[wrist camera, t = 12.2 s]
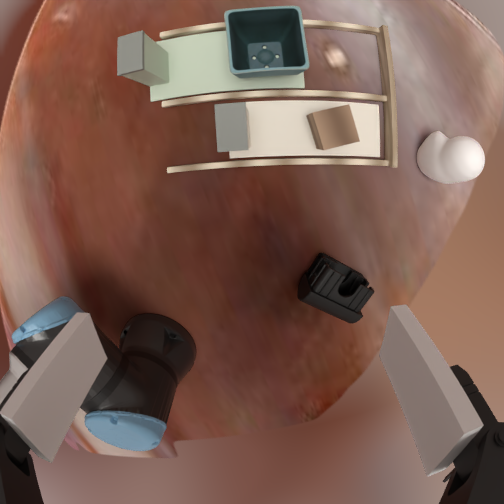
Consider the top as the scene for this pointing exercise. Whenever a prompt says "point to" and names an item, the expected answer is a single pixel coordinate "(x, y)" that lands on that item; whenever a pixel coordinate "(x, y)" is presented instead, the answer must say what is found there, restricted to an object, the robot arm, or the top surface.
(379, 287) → the top surface
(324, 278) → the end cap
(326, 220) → the top surface
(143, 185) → the top surface
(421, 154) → the figurine
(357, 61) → the top surface
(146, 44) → the sage strip
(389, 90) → the lane frame
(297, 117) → the cream strip
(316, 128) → the walnut block
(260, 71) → the flower pot
